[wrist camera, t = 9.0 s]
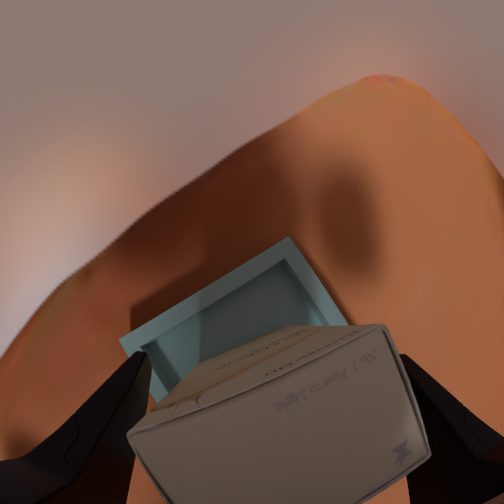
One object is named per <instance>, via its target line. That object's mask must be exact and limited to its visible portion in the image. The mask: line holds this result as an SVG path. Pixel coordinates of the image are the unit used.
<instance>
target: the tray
mask: <svg viewBox="0 0 504 504" xmlns="http://www.w3.org/2000/svg"><path fill="white" fill-rule="evenodd" d="M286 325H302V326H338V325H349V324H348V323H347V321H346V320H345V318H344V317H343V315H342V314H341V312H340V311H339V309H338V307H337V306H336V304H335V303H334V301H333V300H332V298H331V297H330V295H329V294H328V292H327V291H326V289H325V288H324V286H323V285H322V283H321V282H320V280H319V279H318V277H317V276H316V274H315V273H314V271H313V270H312V268H311V267H310V265H309V264H308V263H307V261H306V260H305V258H304V257H303V255H302V254H301V252H300V251H299V249H298V248H297V247H296V245H295V244H294V242H293V241H292V239H291V238H290V236H288V237H286V238H285V239H283V240H281V241H280V242H278V243H277V244H275V245H273V246H272V247H270V248H268V249H267V250H265V251H264V252H262V253H260V254H259V255H257V256H255V257H254V258H252V259H250V260H249V261H247V262H246V263H244V264H242V265H241V266H239V267H237V268H236V269H234V270H232V271H231V272H229V273H228V274H226V275H224V276H223V277H221V278H219V279H218V280H216V281H214V282H213V283H211V284H210V285H208V286H206V287H205V288H203V289H201V290H200V291H198V292H196V293H195V294H193V295H191V296H190V297H188V298H187V299H185V300H183V301H182V302H180V303H178V304H177V305H175V306H173V307H172V308H170V309H168V310H167V311H165V312H163V313H162V314H160V315H159V316H157V317H155V318H154V319H152V320H150V321H149V322H147V323H145V324H144V325H142V326H140V327H139V328H137V329H135V330H134V331H132V332H130V333H129V334H127V335H125V336H124V337H122V338H120V339H119V341H120V343H121V345H122V346H123V348H124V350H125V352H126V354H127V355H128V357H130V356H131V355H132V354H133V353H134V352H135V351H143V352H147V353H148V355H149V359H150V362H151V365H152V375H151V382H150V389H149V392H150V394H151V395H152V397H153V398H154V400H155V401H156V403H157V404H158V403H159V402H160V401H161V400H162V399H163V398H164V397H165V396H166V395H167V394H168V393H169V392H170V391H171V390H172V389H173V388H174V387H175V386H176V385H177V384H178V383H179V382H180V381H181V380H182V379H183V378H184V377H185V376H186V375H187V374H188V373H189V372H190V371H191V370H192V369H194V368H195V366H197V365H198V364H199V363H200V362H202V361H205V360H207V359H210V358H212V357H214V356H217V355H219V354H222V353H224V352H226V351H229V350H231V349H233V348H236V347H238V346H240V345H243V344H245V343H247V342H250V341H252V340H254V339H257V338H259V337H261V336H264V335H266V334H268V333H271V332H273V331H275V330H278V329H280V328H282V327H284V326H286Z"/></svg>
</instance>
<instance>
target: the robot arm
mask: <svg viewBox="0 0 504 504" xmlns="http://www.w3.org/2000/svg"><path fill="white" fill-rule="evenodd" d="M399 356H400V358H401V360H402V363H403V365H404V368H405V370H406V373H407V376H408V378H409V380H410V384H411V387H412V390H413V393H414V396H415V399H416V402H417V404H418V407H419V410H420V414H421V418H422V420H423V425H424V428H425V432H426V435H427V439H428V444H429V447H430V451H431V456H430V458H429V459H428V460H426V461H425V462H424V463H422V464H421V465H419V466H418V467H417V468H415V469H414V470H412V471H411V472H410V473H409V474H407V475H406V477H407V483H408V490H409V498H410V504H504V437H503V436H502V435H500V434H499V433H497V432H496V431H495V430H493V429H492V428H491V427H489V426H488V425H487V424H485V423H484V422H483V421H481V420H480V419H479V418H478V417H476V416H475V415H474V414H473V413H472V412H471V411H469V410H468V409H467V408H466V407H465V406H463V404H462V403H461V402H459V401H458V400H457V399H456V398H455V397H454V396H453V395H452V394H450V393H449V392H448V391H447V390H446V389H445V388H444V387H443V386H441V385H440V384H439V383H438V382H437V381H436V380H435V379H434V378H432V377H431V376H430V375H429V374H428V373H427V372H426V371H424V370H423V369H422V368H421V367H420V366H419V365H418V364H416V363H415V362H414V361H413V360H412V359H411V358H410V357H408V356H407V355H406V354H399ZM151 375H152V365H151V362H150V359H149V355H148V353H147V352H143V351H135V352H134V353H133V354H132V355H131V356H130V357H129V358H128V359H127V360H126V361H125V362H124V363H123V364H122V365H121V366H120V367H119V368H118V369H117V370H116V371H115V372H114V373H113V374H112V375H111V376H110V377H109V378H108V379H107V380H106V381H105V382H104V383H103V384H102V385H101V386H100V387H99V388H98V389H97V390H96V391H95V392H94V393H93V394H92V395H91V396H90V397H89V399H88V400H87V401H86V402H85V403H84V404H83V405H82V406H81V407H80V408H79V409H78V410H77V411H76V412H75V414H73V415H72V416H71V417H70V418H69V419H68V420H67V421H66V422H65V423H64V424H63V425H62V426H61V427H60V428H58V429H57V430H56V431H55V432H54V433H53V434H51V435H50V436H49V437H48V438H46V439H45V440H44V441H43V442H41V443H40V444H39V445H38V446H36V447H35V448H34V449H33V450H31V451H30V452H29V453H27V454H25V455H24V456H21V457H19V458H15V459H10V460H3V461H0V504H126V502H127V496H128V491H129V486H130V481H131V476H132V471H133V466H134V462H135V457H136V454H135V453H134V451H133V449H132V447H131V445H130V443H129V441H128V439H127V432H128V431H129V430H130V429H132V428H133V427H134V426H135V425H136V424H137V423H138V422H139V421H140V420H141V419H142V418H143V417H144V416H145V415H146V410H147V404H148V397H149V389H150V382H151Z"/></svg>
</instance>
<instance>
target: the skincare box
mask: <svg viewBox="0 0 504 504" xmlns="http://www.w3.org/2000/svg"><path fill="white" fill-rule="evenodd" d="M127 439H128V441H129V443H130V445H131V447H132V449H133V451H134V453H135V454H136V456H137V458H138V459H139V461H140V463H141V464H142V466H143V468H144V469H145V471H146V473H147V474H148V476H149V478H150V479H151V481H152V482H153V484H154V485H155V487H156V488H157V490H158V491H159V493H160V494H161V495H162V497H163V498H164V500H165V501H166V503H167V504H362V503H364V502H365V501H367V500H369V499H371V498H372V497H374V496H376V495H377V494H379V493H380V492H382V491H384V490H385V489H387V488H389V487H390V486H391V485H393V484H394V483H396V482H397V481H399V480H400V479H402V478H403V477H405V476H406V475H407V474H409V473H410V472H411V471H412V470H414V469H415V468H417V467H418V466H419V465H421V464H422V463H424V462H425V461H426V460H428V459H429V458H430V456H431V451H430V447H429V444H428V439H427V435H426V432H425V428H424V425H423V420H422V418H421V414H420V410H419V407H418V404H417V402H416V399H415V396H414V393H413V390H412V387H411V384H410V380H409V378H408V376H407V373H406V370H405V368H404V365H403V363H402V360H401V358H400V356H399V353H398V351H397V349H396V346H395V344H394V342H393V340H392V338H391V335H390V333H389V330H388V329H387V327H386V326H385V325H383V324H370V325H338V326H302V325H286V326H284V327H282V328H280V329H278V330H275V331H273V332H271V333H268V334H266V335H264V336H261V337H259V338H257V339H254V340H252V341H250V342H247V343H245V344H243V345H240V346H238V347H236V348H233V349H231V350H229V351H226V352H224V353H222V354H219V355H217V356H214V357H212V358H210V359H207V360H205V361H202V362H200V363H199V364H198V365H197V366H195V368H194V369H192V370H191V371H190V372H189V373H188V374H187V375H186V376H185V377H184V378H183V379H182V380H181V381H180V382H179V383H178V384H177V385H176V386H175V387H174V388H173V389H172V390H171V391H170V392H169V393H168V394H167V395H166V396H165V397H164V398H163V399H162V400H161V401H160V402H159V403H158V404H157V405H156V406H155V407H154V408H153V409H152V410H151V411H150V412H149V413H148V414H146V415H145V416H144V417H143V418H142V419H141V420H140V421H139V422H138V423H137V424H136V425H135V426H134V427H133V428H132V429H130V430H129V431H128V432H127Z"/></svg>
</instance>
